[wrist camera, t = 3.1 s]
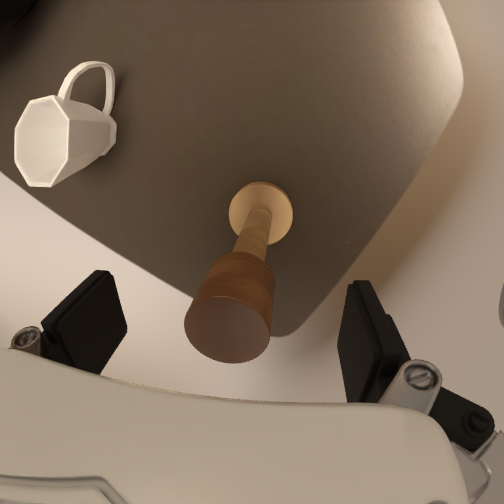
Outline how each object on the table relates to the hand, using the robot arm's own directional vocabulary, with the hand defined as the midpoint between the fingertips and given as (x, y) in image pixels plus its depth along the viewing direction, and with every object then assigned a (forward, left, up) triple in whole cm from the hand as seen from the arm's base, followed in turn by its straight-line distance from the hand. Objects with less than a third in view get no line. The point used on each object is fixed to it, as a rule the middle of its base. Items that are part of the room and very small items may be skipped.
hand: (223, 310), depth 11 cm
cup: (+14, -9, -14) cm, 22 cm away
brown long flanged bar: (0, 0, -14) cm, 14 cm away
